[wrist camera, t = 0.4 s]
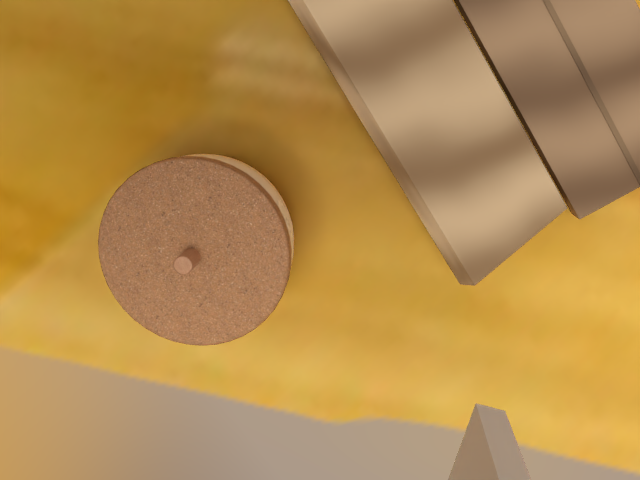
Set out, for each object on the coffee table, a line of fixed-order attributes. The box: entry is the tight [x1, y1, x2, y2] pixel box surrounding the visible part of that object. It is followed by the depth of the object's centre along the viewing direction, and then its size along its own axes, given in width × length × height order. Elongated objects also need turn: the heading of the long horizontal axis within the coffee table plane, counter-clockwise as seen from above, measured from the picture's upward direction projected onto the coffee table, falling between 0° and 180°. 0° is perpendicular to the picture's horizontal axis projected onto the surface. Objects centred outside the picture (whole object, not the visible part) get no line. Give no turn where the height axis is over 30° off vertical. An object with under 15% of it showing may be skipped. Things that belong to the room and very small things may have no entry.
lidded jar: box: [98, 154, 294, 345], centre depth 36 cm, size 11×11×9 cm
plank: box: [288, 0, 567, 285], centre depth 34 cm, size 28×8×2 cm
